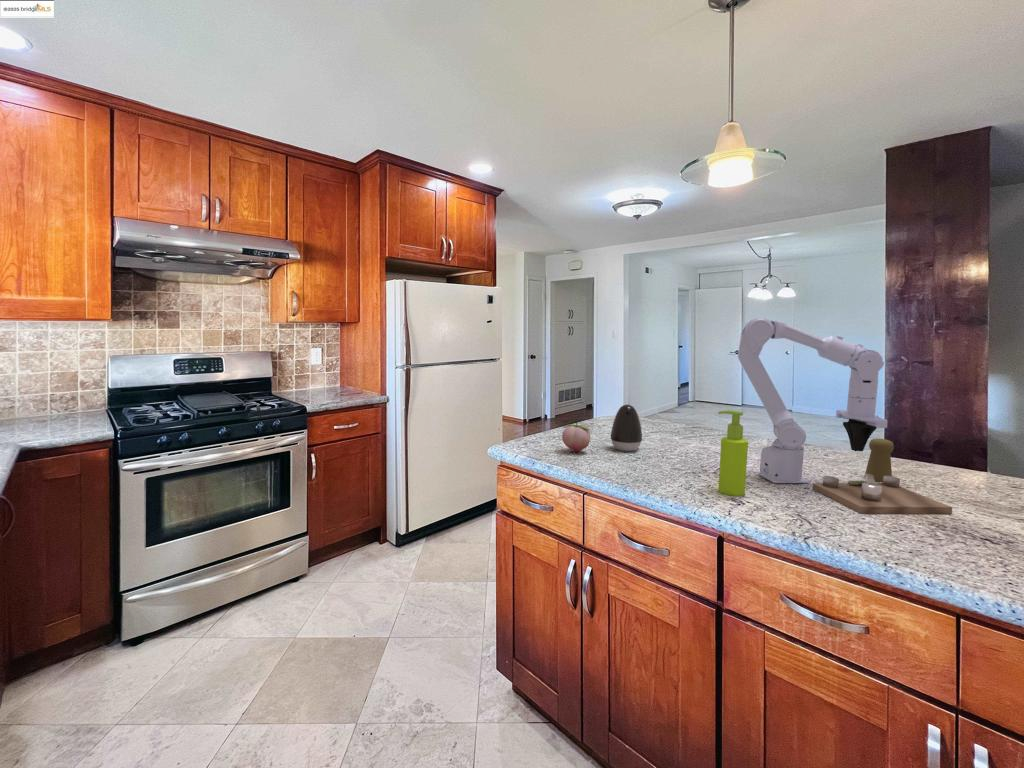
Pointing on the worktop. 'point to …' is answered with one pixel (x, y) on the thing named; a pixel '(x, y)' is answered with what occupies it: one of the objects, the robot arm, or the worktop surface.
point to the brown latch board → (891, 498)
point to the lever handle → (871, 489)
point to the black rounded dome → (626, 429)
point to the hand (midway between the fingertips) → (857, 450)
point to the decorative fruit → (576, 437)
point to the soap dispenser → (733, 458)
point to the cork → (880, 459)
